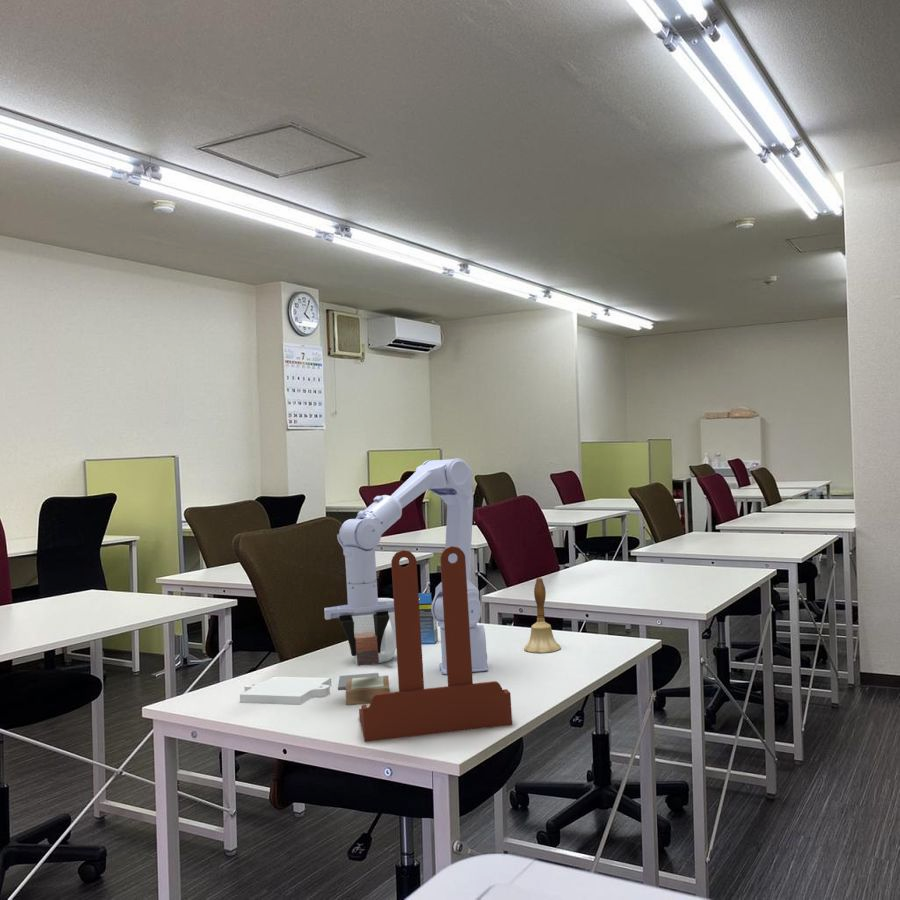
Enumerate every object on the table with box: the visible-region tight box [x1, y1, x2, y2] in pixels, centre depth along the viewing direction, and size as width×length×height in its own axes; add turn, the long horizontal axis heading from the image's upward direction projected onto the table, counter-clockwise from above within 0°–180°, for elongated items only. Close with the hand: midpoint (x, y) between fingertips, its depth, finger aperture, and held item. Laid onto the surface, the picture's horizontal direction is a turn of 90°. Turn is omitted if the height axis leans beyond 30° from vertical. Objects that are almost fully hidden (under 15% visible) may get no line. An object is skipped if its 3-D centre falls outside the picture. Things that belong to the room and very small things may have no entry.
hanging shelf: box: [358, 546, 513, 743], centre depth 143 cm, size 24×13×30 cm, turn 100°
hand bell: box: [523, 577, 562, 654], centre depth 191 cm, size 8×8×16 cm
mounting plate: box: [239, 676, 332, 706], centre depth 166 cm, size 18×13×2 cm
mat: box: [337, 672, 380, 691], centre depth 172 cm, size 8×9×1 cm
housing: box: [353, 632, 380, 667], centre depth 161 cm, size 4×6×5 cm, turn 13°
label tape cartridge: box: [418, 592, 439, 645], centre depth 206 cm, size 9×4×12 cm, turn 77°
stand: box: [345, 675, 390, 706], centre depth 161 cm, size 8×9×3 cm
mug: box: [352, 597, 397, 664], centre depth 188 cm, size 15×11×13 cm
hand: (365, 653), depth 161 cm, fingers closed on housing, 4 cm apart
